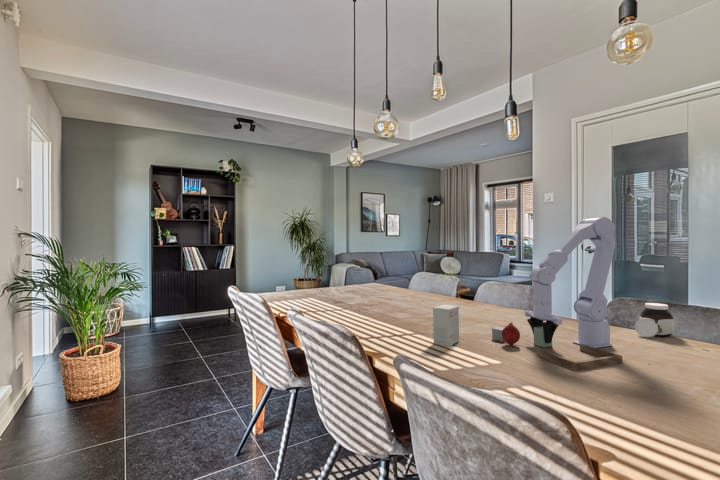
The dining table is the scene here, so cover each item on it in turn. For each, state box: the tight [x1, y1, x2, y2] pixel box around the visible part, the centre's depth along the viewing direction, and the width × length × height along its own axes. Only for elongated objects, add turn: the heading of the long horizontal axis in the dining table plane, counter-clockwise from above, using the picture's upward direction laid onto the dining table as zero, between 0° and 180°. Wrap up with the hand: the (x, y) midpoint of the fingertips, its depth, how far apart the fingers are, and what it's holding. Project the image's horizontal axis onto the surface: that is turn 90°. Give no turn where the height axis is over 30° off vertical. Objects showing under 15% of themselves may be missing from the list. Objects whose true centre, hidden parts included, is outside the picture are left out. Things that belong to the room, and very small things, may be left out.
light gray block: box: [491, 326, 505, 342], centre depth 135 cm, size 4×4×4 cm
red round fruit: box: [502, 321, 521, 346], centre depth 127 cm, size 6×6×8 cm
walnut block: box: [538, 344, 623, 371], centre depth 112 cm, size 18×13×2 cm
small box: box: [432, 304, 460, 347], centre depth 131 cm, size 8×6×13 cm
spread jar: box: [634, 302, 675, 338], centre depth 137 cm, size 12×11×12 cm
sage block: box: [533, 326, 553, 348], centre depth 126 cm, size 4×4×6 cm
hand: (542, 341), depth 126 cm, fingers closed on sage block, 4 cm apart
